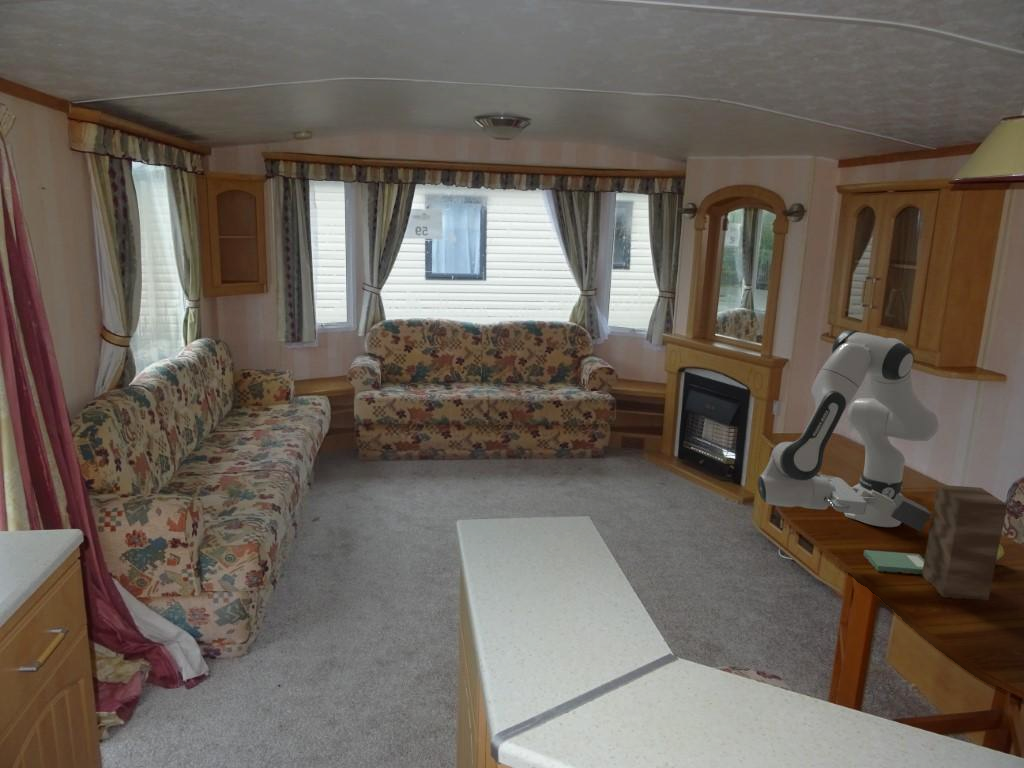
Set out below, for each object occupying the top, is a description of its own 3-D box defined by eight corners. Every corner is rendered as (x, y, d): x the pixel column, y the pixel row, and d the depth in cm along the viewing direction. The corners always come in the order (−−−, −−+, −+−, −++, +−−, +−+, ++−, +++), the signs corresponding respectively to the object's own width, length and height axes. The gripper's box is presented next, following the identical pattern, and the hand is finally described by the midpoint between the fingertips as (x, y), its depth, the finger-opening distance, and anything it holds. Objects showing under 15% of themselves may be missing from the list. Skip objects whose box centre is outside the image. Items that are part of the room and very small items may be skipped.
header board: (863, 554, 210) (864, 550, 210) (917, 558, 209) (918, 554, 209) (877, 570, 200) (878, 565, 200) (934, 575, 199) (935, 570, 199)
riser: (921, 575, 199) (937, 484, 193) (963, 578, 198) (981, 487, 192) (943, 597, 187) (961, 501, 182) (988, 600, 186) (1007, 504, 181)
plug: (854, 494, 204) (865, 477, 203) (914, 523, 202) (925, 507, 201) (858, 500, 199) (869, 484, 198) (920, 531, 197) (931, 514, 195)
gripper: (833, 495, 191) (888, 499, 190) (809, 470, 211) (858, 474, 210) (830, 518, 193) (884, 522, 192) (806, 491, 213) (855, 494, 211)
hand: (870, 496), depth 201 cm, fingers closed on plug, 4 cm apart
